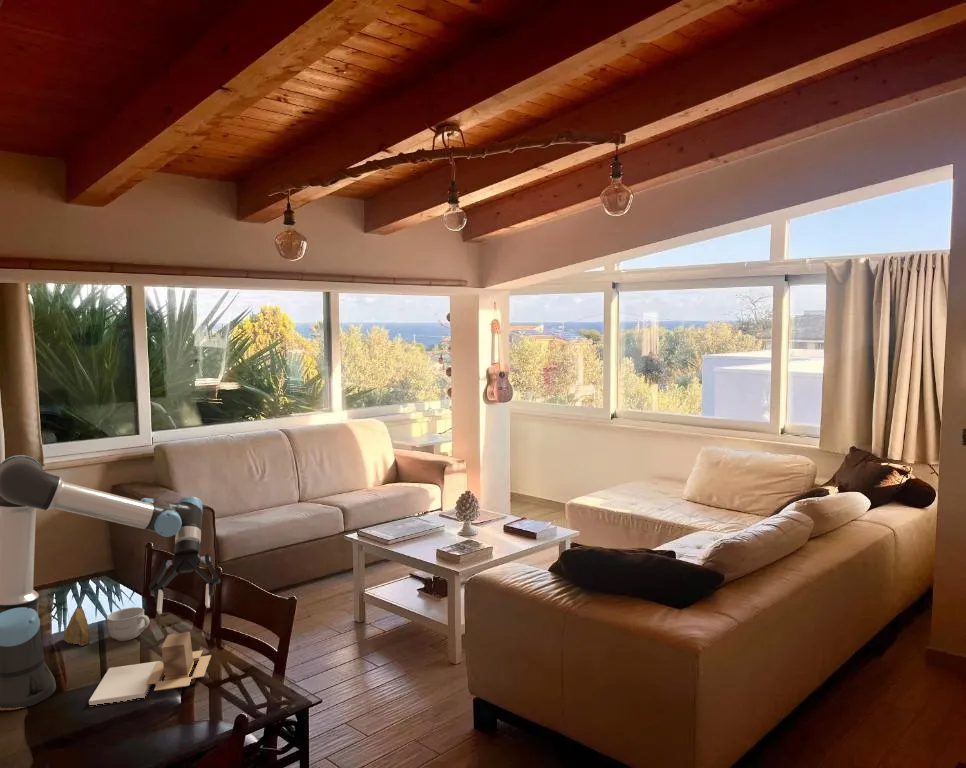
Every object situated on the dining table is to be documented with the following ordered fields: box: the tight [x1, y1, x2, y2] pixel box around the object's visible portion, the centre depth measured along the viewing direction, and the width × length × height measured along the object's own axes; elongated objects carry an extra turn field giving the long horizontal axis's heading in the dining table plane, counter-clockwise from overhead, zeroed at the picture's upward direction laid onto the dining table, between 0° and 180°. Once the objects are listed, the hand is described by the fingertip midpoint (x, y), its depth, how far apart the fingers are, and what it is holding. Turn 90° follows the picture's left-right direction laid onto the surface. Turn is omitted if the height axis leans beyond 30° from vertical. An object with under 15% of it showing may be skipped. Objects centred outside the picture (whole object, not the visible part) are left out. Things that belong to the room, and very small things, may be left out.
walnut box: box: [161, 631, 194, 681], centre depth 211 cm, size 6×8×11 cm
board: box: [88, 660, 161, 706], centre depth 208 cm, size 14×18×2 cm
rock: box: [62, 607, 91, 646], centre depth 237 cm, size 11×9×10 cm
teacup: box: [106, 607, 151, 642], centre depth 238 cm, size 14×11×8 cm
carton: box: [146, 650, 212, 691], centre depth 212 cm, size 15×20×2 cm
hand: (183, 609), depth 221 cm, fingers open, 13 cm apart
